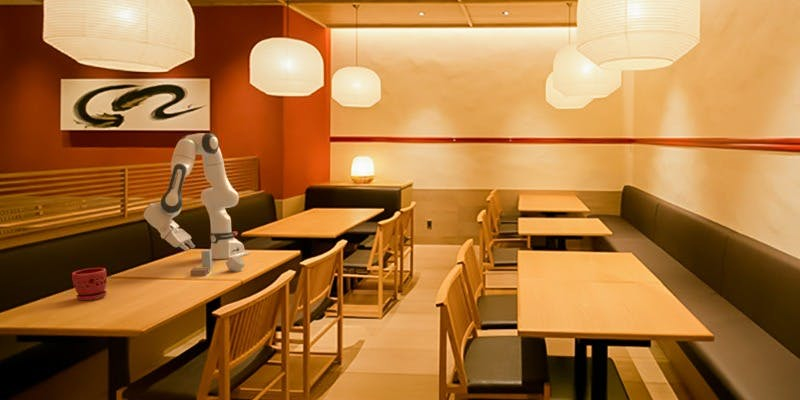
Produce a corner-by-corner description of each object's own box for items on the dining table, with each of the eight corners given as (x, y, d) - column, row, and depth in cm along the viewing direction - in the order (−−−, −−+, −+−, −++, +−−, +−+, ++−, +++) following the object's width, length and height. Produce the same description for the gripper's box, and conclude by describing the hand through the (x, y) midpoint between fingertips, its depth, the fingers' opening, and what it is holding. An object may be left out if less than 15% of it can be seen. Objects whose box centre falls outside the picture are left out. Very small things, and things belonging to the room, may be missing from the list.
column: (204, 269, 339) (203, 250, 338) (212, 269, 339) (211, 249, 338) (202, 271, 335) (201, 251, 334) (210, 270, 335) (209, 251, 334)
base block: (195, 273, 326) (194, 267, 326) (209, 273, 327) (209, 267, 326) (191, 276, 320) (190, 270, 319) (205, 276, 320) (205, 269, 319)
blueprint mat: (205, 271, 333) (204, 270, 333) (222, 273, 326) (222, 273, 326) (181, 276, 321) (181, 275, 321) (198, 279, 314) (198, 278, 314)
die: (248, 271, 333) (242, 255, 337) (242, 266, 326) (237, 249, 329) (232, 278, 333) (227, 261, 337) (227, 272, 325) (221, 255, 329)
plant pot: (98, 293, 290) (96, 266, 289) (113, 297, 282) (111, 269, 281) (68, 299, 280) (66, 271, 279) (82, 303, 272) (80, 274, 271)
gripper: (172, 232, 344) (192, 250, 345) (159, 237, 323) (180, 256, 324) (181, 223, 344) (201, 241, 344) (168, 227, 323) (189, 247, 324)
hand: (191, 248), depth 334 cm, fingers open, 8 cm apart
